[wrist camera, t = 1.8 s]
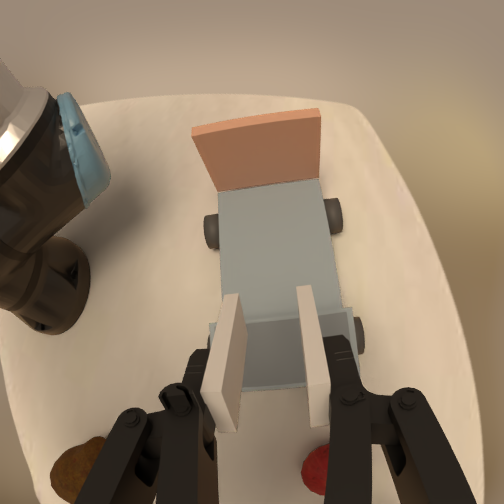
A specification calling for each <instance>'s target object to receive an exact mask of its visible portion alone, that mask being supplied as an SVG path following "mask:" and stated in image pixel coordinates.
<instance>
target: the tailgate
mask: <svg viewBox="0 0 504 504" xmlns="http://www.w3.org/2000/svg"><path fill="white" fill-rule="evenodd" d="M191 137H192V139H193V141H194V143H195V145H196V147H197V149H198V151H199V154H200V156H201V158H202V160H203V162H204V164H205V166H206V168H207V170H208V172H209V175H210V177H211V179H212V181H213V183H214V185H215V187H216V189H217V191H218V192H219V191H225V190H231V189H238V188H244V187H251V186H258V185H265V184H272V183H279V182H287V181H295V180H303V179H311V178H319V163H320V138H321V115H320V112H319V109H318V108H314V109H303V110H294V111H286V112H278V113H270V114H263V115H257V116H250V117H244V118H238V119H232V120H227V121H222V122H217V123H211V124H207V125H202V126H197V127H193V128H192V134H191Z"/></svg>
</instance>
